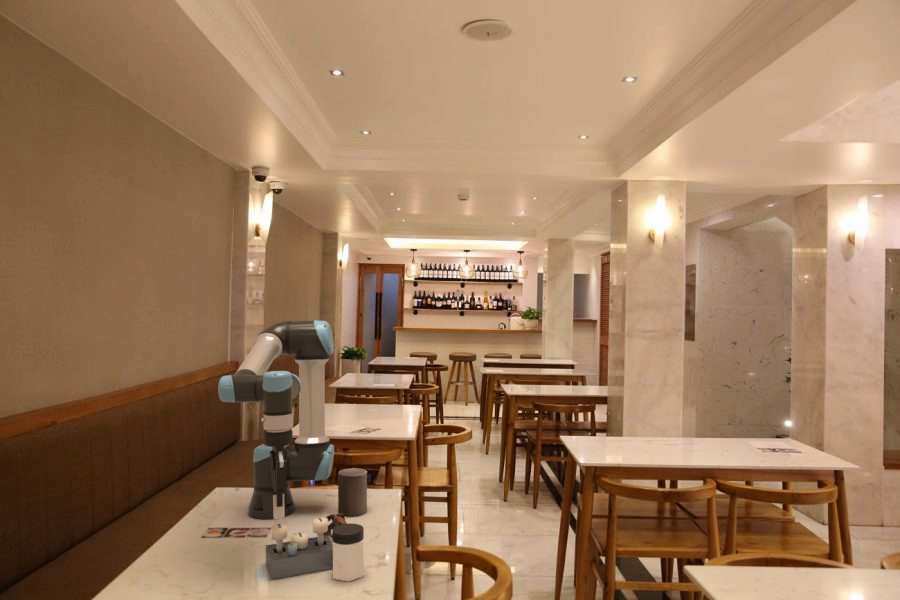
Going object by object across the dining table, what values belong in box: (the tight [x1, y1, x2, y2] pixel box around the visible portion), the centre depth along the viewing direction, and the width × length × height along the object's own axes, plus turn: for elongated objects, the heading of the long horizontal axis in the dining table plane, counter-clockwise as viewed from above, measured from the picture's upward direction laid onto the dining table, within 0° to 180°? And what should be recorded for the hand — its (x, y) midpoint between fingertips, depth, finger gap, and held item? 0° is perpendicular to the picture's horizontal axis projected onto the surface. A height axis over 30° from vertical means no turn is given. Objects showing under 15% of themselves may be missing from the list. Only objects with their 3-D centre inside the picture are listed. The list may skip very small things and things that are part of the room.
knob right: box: [312, 516, 329, 546], centre depth 173 cm, size 4×4×8 cm
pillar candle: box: [337, 467, 368, 518], centre depth 212 cm, size 10×10×15 cm
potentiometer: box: [288, 536, 297, 556], centre depth 166 cm, size 2×2×4 cm
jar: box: [331, 522, 365, 583], centre depth 164 cm, size 9×8×12 cm
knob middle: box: [292, 531, 309, 549], centre depth 170 cm, size 4×4×8 cm
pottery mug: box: [316, 512, 348, 538], centre depth 190 cm, size 12×10×8 cm
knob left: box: [271, 522, 288, 553], centre depth 168 cm, size 4×4×8 cm
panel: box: [265, 535, 333, 581], centre depth 170 cm, size 11×17×5 cm, turn 113°
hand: (279, 517), depth 168 cm, fingers closed
